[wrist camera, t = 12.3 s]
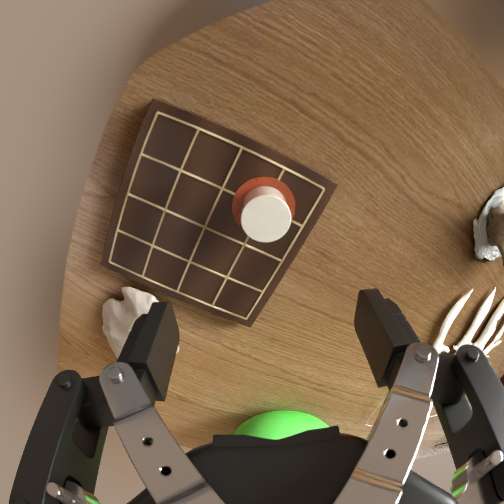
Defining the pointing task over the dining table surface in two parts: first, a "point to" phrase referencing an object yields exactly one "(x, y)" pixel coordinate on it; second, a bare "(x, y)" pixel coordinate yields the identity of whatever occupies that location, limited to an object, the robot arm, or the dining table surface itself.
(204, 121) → the game board
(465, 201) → the dining table surface
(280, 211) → the white cylinder
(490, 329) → the knife set
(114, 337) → the decorative stone
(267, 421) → the toy bird
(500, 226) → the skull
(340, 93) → the dining table surface
